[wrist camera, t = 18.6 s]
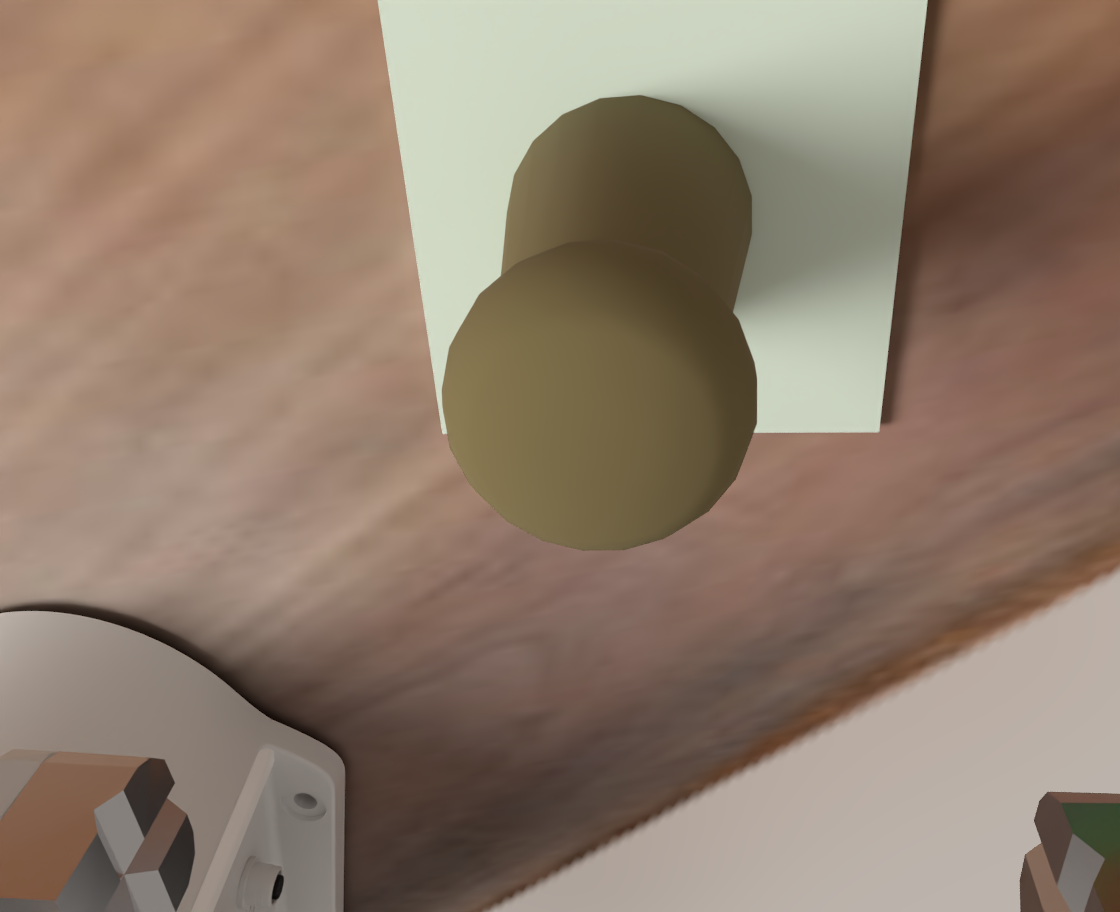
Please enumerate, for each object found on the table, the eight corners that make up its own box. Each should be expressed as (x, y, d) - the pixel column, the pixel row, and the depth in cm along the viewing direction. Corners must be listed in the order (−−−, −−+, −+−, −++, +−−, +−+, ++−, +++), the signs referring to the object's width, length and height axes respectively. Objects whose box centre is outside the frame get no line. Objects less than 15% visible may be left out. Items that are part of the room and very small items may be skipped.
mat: (876, 424, 27) (879, 432, 26) (445, 426, 28) (442, 433, 28) (931, -75, 21) (935, -74, 20) (377, -38, 22) (372, -36, 22)
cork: (558, 51, 22) (465, 193, 13) (798, 156, 23) (873, 363, 14) (474, 282, 26) (351, 529, 16) (688, 369, 26) (686, 656, 17)
